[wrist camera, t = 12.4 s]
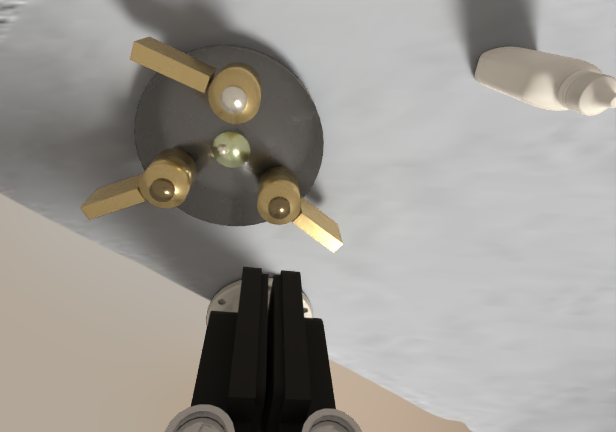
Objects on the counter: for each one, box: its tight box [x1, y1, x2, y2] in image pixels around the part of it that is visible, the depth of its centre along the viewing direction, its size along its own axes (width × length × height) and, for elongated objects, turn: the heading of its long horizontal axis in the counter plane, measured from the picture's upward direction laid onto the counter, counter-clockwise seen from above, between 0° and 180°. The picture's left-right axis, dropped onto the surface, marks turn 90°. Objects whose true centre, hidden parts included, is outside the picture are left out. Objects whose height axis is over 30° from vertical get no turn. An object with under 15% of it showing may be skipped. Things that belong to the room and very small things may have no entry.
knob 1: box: [80, 149, 196, 220], centre depth 30 cm, size 9×4×5 cm, turn 108°
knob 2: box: [130, 37, 262, 124], centre depth 26 cm, size 9×4×5 cm, turn 64°
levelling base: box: [135, 45, 324, 226], centre depth 32 cm, size 16×16×2 cm
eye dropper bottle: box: [475, 47, 616, 116], centre depth 26 cm, size 4×6×12 cm
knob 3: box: [257, 167, 343, 252], centre depth 33 cm, size 9×4×5 cm, turn 48°
